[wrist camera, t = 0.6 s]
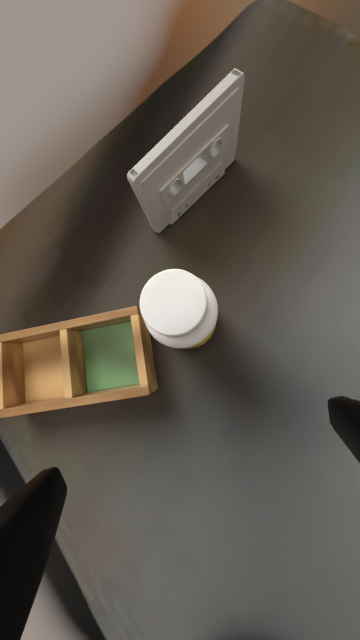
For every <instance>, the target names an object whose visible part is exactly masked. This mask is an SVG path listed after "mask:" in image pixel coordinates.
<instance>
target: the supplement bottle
mask: <svg viewBox="0 0 360 640" xmlns="http://www.w3.org/2000/svg"><path fill="white" fill-rule="evenodd" d="M140 311H141V314H142V317H143V319H144V321H145V324H146V327H147V329H148V330H149V332H150V333H151V335H152V336H153V337H154V338H155V339H156V340H157V341H159V342H160V343H162V344H164V345H166V346H169V347H172V348H178V349H183V348H184V349H191V348H196V347H199V346H201V345H203V344H204V343H206V342H207V341H208V340H209V339H210V337H211V336H212V334H213V332H214V330H215V326H216V322H217V317H218V305H217V300H216V297H215V295H214V293H213V291H212V290H211V288H210V287H209V286H208V285H207V284H206V283H205V282H204V281H202V280H201V279H199V278H198V277H196V276H194V275H193V274H191V273H189V272H187V271H185V270H180V269H169V270H165V271H162V272H159V273H158V274H156V275H154V276H153V277H152V278H151V279H150V280H149V281H148V282H147V283H146V285H145V286H144V288H143V290H142V293H141V297H140Z"/></svg>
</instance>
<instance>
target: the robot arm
mask: <svg viewBox="0 0 360 640" xmlns="http://www.w3.org/2000/svg"><path fill="white" fill-rule="evenodd" d="M328 410H329V418H330V423H331V425H332V427H333V429H334V430H335V431H336V433H337V434H338V435H339V437H340V438H341V439H342V441H343V442H344V443H345V444H346V446H347V447H348V448H349V450H350V451H351V452H352V454H353V455H354V456H355V457H356V459H357V460H358V461H359V463H360V401H357V400H354V399H351V398H348V397H344V396H338V397H334V398H330V399H329V400H328ZM66 495H67V485H66V483H65V481H64V479H63V476H62V474H61V472H60V470H59V468H57V467H52V468H48V469H44V470H42V471H41V472H40V473H39V474H38V475H36V476H35V477H34V478H33V479H32V480H31V481H29V482H28V483H27V484H26V485H25V486H24V487H23V488H21V489H20V490H19V491H18V492H17V493H16V494H14V495H13V496H12V497H11V498H10V499H9V500H8V501H7V502H5V503H4V504H3V505H2V506H1V507H0V640H20V639H21V636H22V633H23V631H24V628H25V625H26V622H27V619H28V616H29V613H30V611H31V608H32V605H33V602H34V599H35V596H36V594H37V591H38V588H39V585H40V582H41V580H42V576H43V574H44V571H45V568H46V565H47V562H48V559H49V556H50V552H51V549H52V546H53V542H54V539H55V535H56V531H57V528H58V524H59V521H60V517H61V513H62V510H63V506H64V502H65V499H66Z"/></svg>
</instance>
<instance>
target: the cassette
mask: <svg viewBox="0 0 360 640" xmlns="http://www.w3.org/2000/svg"><path fill="white" fill-rule="evenodd" d="M243 85H244V73H242V72H241V71H239V70H237V69H236V68H234V69H233V70H232V71H231V72H230V73H229V74H228V75H227V76H226V77H225V78H224V79H223V80H222V81H221V82H220V83H219V84H218V85H217V86H216V87H215V88H214V89H213V90H212V91H211V92H210V93H209V94H208V95H207V96H206V97H205V98H204V99H203V100H202V101H201V102H200V103H199V104H198V105H197V106H196V107H195V108H194V109H193V110H191V111H190V112H189V113H188V114H187V115H186V116H185V117H184V118H183V119H182V120H181V121H180V122H179V123H178V124H177V125H176V126H175V127H174V128H173V129H172V130H171V131H170V132H169V133H168V134H167V135H166V136H165V137H164V138H163V139H162V140H161V141H160V142H159V143H158V144H157V145H156V146H155V147H154V148H153V149H152V150H151V151H150V152H149V153H148V154H147V155H146V156H144V157H143V158H142V159H141V160H140V161H139V162H138V163H137V164H136V165H135V166H134V167H133V168H132V169H131V170H130V171H129V172H128V174H127V179H128V181H129V183H130V185H131V187H132V189H133V191H134V193H135V195H136V197H137V199H138V201H139V203H140V205H141V207H142V209H143V211H144V213H145V215H146V217H147V219H148V221H149V223H150V225H151V227H152V229H153V230H154V231H155V232H157V233H160V232H161V231H162V230H163V229H164V228H165V227H166V226H167V225H168V224H171V225H172V224H173V223H174V222H175V221H176V220H177V219H178V218H179V217H180V216H182V215H183V214H184V213H185V212H186V211H187V210H188V209H189V208H190V207H191V206H192V205H193V204H194V203H195V202H196V201H197V200H198V199H199V198H200V197H201V196H202V195H203V194H204V193H205V192H206V191H207V190H208V189H209V188H210V187H211V186H212V185H214V184H215V183H216V182H217V181H218V180H219V179H220V178H221V177H222V176H223V175H224V174H225V171H224V170H225V169H226V168H227V167H228V166H229V165H230V164H231V163H232V162H233V161H234V159H235V155H236V146H237V137H238V129H239V120H240V111H241V103H242V94H243Z"/></svg>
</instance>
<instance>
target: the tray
mask: <svg viewBox="0 0 360 640" xmlns="http://www.w3.org/2000/svg"><path fill="white" fill-rule="evenodd" d="M157 389H158V384H157V377H156V370H155V364H154V357H153V350H152V344H151V337H150V332H149V330H148V329H147V327H146V324H145V321H144V319H143V317H142V314H141V311H140V307H138V306H134V307H129V308H124V309H119V310H115V311H110V312H105V313H100V314H96V315H91V316H86V317H81V318H77V319H72V320H67V321H63V322H58V323H53V324H48V325H44V326H39V327H34V328H29V329H25V330H20V331H15V332H10V333H6V334H1V335H0V418H5V417H11V416H18V415H24V414H31V413H37V412H44V411H50V410H57V409H63V408H70V407H76V406H83V405H89V404H96V403H102V402H109V401H115V400H122V399H128V398H135V397H141V396H148V395H150V394H152V393H153V392H155V391H156V390H157Z"/></svg>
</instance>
